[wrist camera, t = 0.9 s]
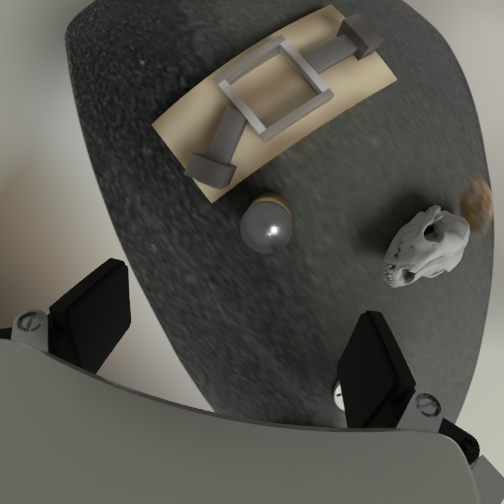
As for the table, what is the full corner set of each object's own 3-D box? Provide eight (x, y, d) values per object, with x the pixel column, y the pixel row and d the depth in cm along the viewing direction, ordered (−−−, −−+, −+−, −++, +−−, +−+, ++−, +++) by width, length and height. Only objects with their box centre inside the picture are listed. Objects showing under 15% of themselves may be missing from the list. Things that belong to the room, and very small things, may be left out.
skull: (473, 252, 25) (451, 320, 20) (415, 249, 32) (377, 306, 27) (468, 192, 22) (450, 247, 17) (404, 195, 30) (362, 243, 24)
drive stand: (390, 83, 23) (412, 70, 17) (216, 200, 29) (200, 211, 24) (329, 12, 20) (336, -14, 15) (159, 126, 27) (132, 121, 22)
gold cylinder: (298, 217, 29) (303, 235, 23) (265, 239, 30) (260, 263, 24) (274, 183, 28) (272, 191, 22) (241, 207, 29) (229, 222, 23)
